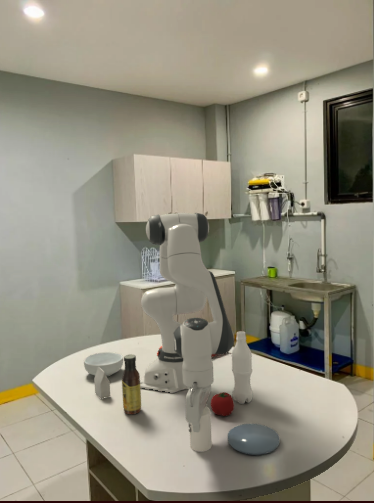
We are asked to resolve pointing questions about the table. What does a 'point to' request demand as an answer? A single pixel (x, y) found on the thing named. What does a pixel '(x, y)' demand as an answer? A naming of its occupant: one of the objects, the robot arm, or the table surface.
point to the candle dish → (253, 439)
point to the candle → (201, 433)
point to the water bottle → (242, 369)
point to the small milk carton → (101, 384)
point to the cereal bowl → (103, 362)
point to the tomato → (222, 404)
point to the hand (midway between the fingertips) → (199, 422)
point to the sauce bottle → (131, 386)
